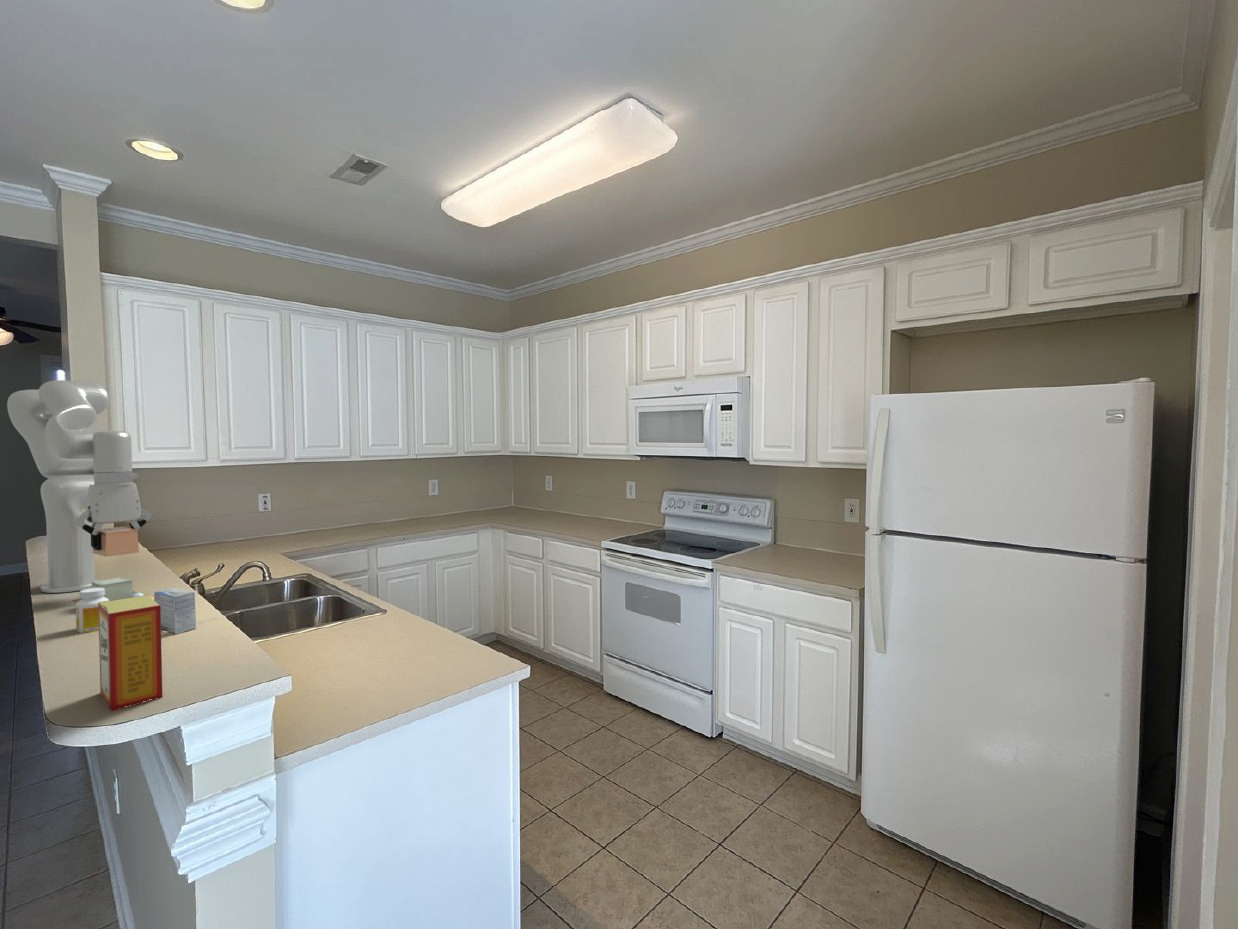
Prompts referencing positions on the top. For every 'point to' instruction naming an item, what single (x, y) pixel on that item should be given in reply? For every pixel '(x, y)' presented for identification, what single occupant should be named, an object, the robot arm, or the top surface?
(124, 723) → the top surface
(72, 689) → the top surface
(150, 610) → the baking soda box
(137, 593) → the marble
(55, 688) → the top surface
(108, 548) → the terracotta box
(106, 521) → the robot arm
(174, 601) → the medicine box
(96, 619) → the supplement bottle
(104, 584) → the sage green box
